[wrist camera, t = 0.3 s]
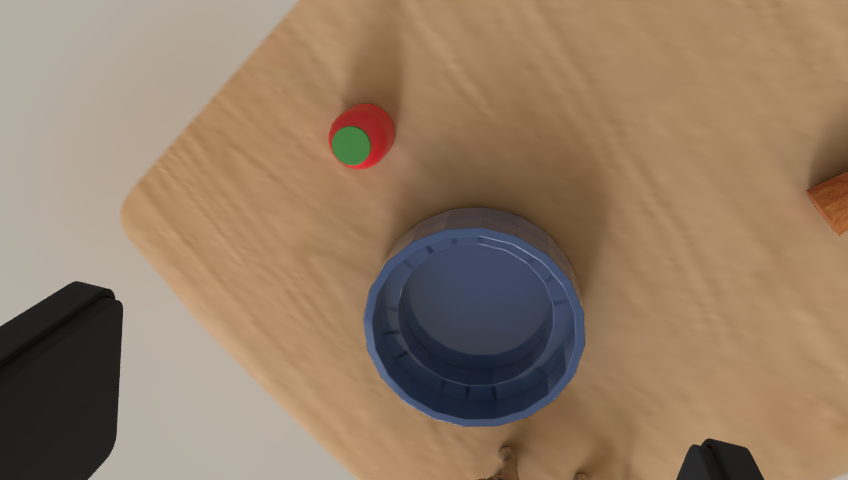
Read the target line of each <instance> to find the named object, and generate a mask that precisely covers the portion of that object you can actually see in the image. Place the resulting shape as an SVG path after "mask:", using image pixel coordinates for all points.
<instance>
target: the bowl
mask: <svg viewBox="0 0 848 480" xmlns="http://www.w3.org/2000/svg"><path fill="white" fill-rule="evenodd" d="M363 322H364V329H365V336H366V343H367V350H368V352H369V354H370V356H371V358H372V360H373V362H374V364H375V366H376V368H377V370H378V372H379V374H380V376H381V378H382V379H383V380H384V381H385V382H386V384H387V385H388V386H389V387H390V388H391V389H392V390H393V391H394V392H395V393H396V394H397V395H398V396H399V397H400V398H401V399H402V400H403V401H404V402H405V403H407V404H409V405H410V406H412V407H414V408H416V409H417V410H419V411H421V412H422V413H424V414H426V415H428V416H429V417H431V418H433V419H437V420H441V421H445V422H449V423H452V424H456V425H460V426H465V427H471V426H500V425H503V424H506V423H510V422H513V421H517V420H520V419H524V418H527V417H529V416H531V415H532V414H534V413H535V412H537V411H538V410H540V409H541V408H543V407H545V406H546V405H548V404H549V403H551V402H552V401H554V400H555V399H556V398H557V397H558V395H559V394H560V393H561V392H562V390H563V389H564V388H565V387H566V385H567V384H568V383H569V382H570V380H571V379H572V378H573V377H574V375H575V373H576V370H577V367H578V364H579V361H580V359H581V356H582V353H583V350H584V347H585V325H584V310H583V305H582V300H581V294H580V289H579V284H578V282H577V279H576V277H575V274H574V272H573V269H572V267H571V264H570V262H569V259H568V258H567V256H566V255H565V253H564V252H563V251H562V250H561V249H560V248H559V246H558V245H557V244H556V243H555V242H554V241H553V240H552V238H551V237H550V236H549V235H548V234H547V233H546V232H545V231H543V230H541V229H540V228H538V227H537V226H535V225H533V224H532V223H530V222H528V221H527V220H525V219H523V218H522V217H520V216H518V215H515V214H511V213H507V212H503V211H499V210H495V209H491V208H487V207H479V208H462V209H451V210H448V211H445V212H443V213H440V214H438V215H435V216H432V217H430V218H427V219H425V220H422V221H420V222H419V223H418V224H417V225H416V226H414V227H413V228H412V229H411V230H410V231H408V232H407V233H406V234H405V235H403V236H402V237H401V238H400V239H399V240H398V241H397V242H396V244H395V245H394V247H393V249H392V250H391V252H390V253H389V255H388V257H387V258H386V260H385V262H384V263H383V265H382V267H381V269H380V271H379V273H378V274H377V276H376V278H375V280H374V282H373V284H372V286H371V288H370V290H369V294H368V299H367V304H366V309H365V314H364V320H363Z"/></svg>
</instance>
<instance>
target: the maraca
mask: <svg viewBox="0 0 848 480" xmlns="http://www.w3.org/2000/svg"><path fill="white" fill-rule="evenodd" d="M806 193H807V195H808V197H809V198H810V200H811V201H812V203H813V204H814V205H815V207H816V208H817V210H818V211H819V212H820V214H821V215H822V216H823V218H824V219H825V220H826V221H827V223H828V224H829V225H830V226H831V228H832V229H833V230H834V231H835V232H836V233H837V234H838V235H839V236H840V235H841V234H843V233H844V232H846V231H847V230H848V171H847V172H845V173H843V174H841V175H838V176H836V177H834V178H832V179H830V180H828V181H825V182H823V183H821V184H819V185H817V186H815V187H813V188H810V189H808V190H806Z"/></svg>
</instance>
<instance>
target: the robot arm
mask: <svg viewBox="0 0 848 480" xmlns="http://www.w3.org/2000/svg"><path fill="white" fill-rule="evenodd" d="M122 319H123V306H122V303H121V302H120V301H118V300H115V295H114V293H113V291H112V290H110V289H106V288H103V287H99V286H95V285H91V284H87V283H83V282H78V281H75V282H72V283H71V284H69V285H67V286H65V287H64V288H62V289H60V290H59V291H57V292H56V293H54V294H52V295H51V296H49V297H47V298H46V299H44V300H42V301H41V302H39V303H38V304H36V305H34V306H33V307H31V308H30V309H28V310H26V311H25V312H23V313H21V314H20V315H18V316H17V317H15V318H13V319H12V320H10V321H9V322H7V323H5V324H4V325H2V326H0V480H88V479H89V478H90V477H91V475H92V474H93V473H94V472H95V471H96V470H97V469H98V468H99V467H100V466H101V464H102V463H103V462H104V461H105V460H106V459H107V457H108V456H109V455H110V453H111V451H112V449H113V447H114V444H115V441H116V435H117V416H118V415H117V414H118V397H119V378H120V357H121V339H122V321H123V320H122ZM676 480H764V478H763V476H762V474H761V472H760V471H759V469H758V467H757V465H756V463H755V461H754V459H753V457H752V455H751V453H750V451H749V450H748V449H747V448H745V447H742V446H738V445H734V444H730V443H726V442H722V441H718V440H714V439H710V438H709V439H706V440H705V441H704V442H703V443H702V445H701V446H699V445H695V444H694V445H692V446H691V447H690V448H689V450H688V452H687V454H686V457H685V459H684V462H683V464H682V467H681V469H680V472H679V474H678V477H677V479H676Z"/></svg>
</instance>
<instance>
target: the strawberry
mask: <svg viewBox="0 0 848 480" xmlns="http://www.w3.org/2000/svg"><path fill="white" fill-rule="evenodd" d="M394 137H395V130H394V125H393V122H392V120H391V118H390V117H389V115H388V114H387V113H386V112H385V111H384V110H383V109H381V108H379V107H377V106H375V105H372V104H359V105H356V106H354V107H352V108H350V109H349V110H347V111H345V112H344V113H342V114H341V115H340V116H339V117H338V118H337V119H336V120H335V121H334V122H333V124H332V126H331V129H330V132H329V145H330V148H331V151H332V153H333V155H334V156H335V158H336V159H337V160H338V161H339V162H340V163H342V164H343V165H345V166H347V167H350V168H353V169H365V168H369V167H371V166H373V165H375V164H376V163H378V162H379V161H380V160H381V159H382V158H383V157H384V156H385V154H386V153H387V152H388V151H389V150H390V148H391V147H392V144H393V142H394Z"/></svg>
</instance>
